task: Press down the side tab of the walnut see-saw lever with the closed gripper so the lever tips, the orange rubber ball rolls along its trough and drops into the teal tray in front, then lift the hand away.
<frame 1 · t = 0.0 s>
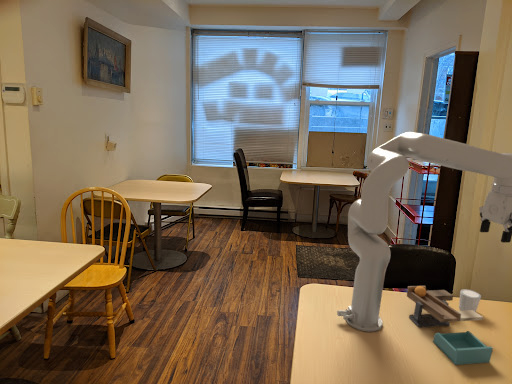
hand: (494, 236, 130), 31 cm above the table, tool pointing down, fingers open, 9 cm apart
walnut lever: (443, 302, 132), point 7 cm above the table, hinge at -6.0°, touching orange ball
teal tray: (460, 351, 117), on the table
orange ball: (420, 291, 138), point 8 cm above the table, tilted 12°, touching walnut lever
lever stand: (428, 321, 133), on the table
white cup: (467, 310, 142), on the table
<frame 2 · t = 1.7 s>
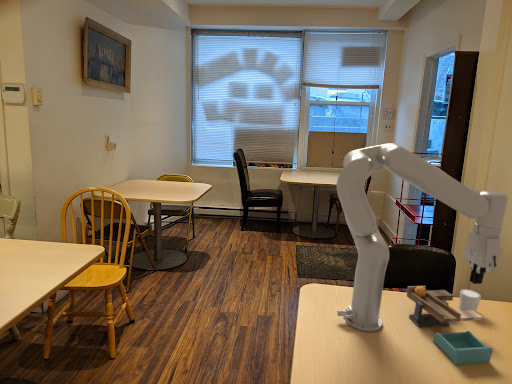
hand: (475, 282, 122), 19 cm above the table, tool pointing down, fingers closed
nothing on the table moved.
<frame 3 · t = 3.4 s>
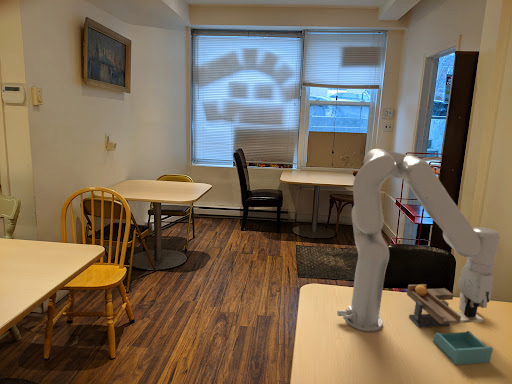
hand: (469, 315, 125), 7 cm above the table, tool pointing down, fingers closed
walnut lever: (443, 302, 131), point 7 cm above the table, hinge at -1.9°, touching gripper, orange ball
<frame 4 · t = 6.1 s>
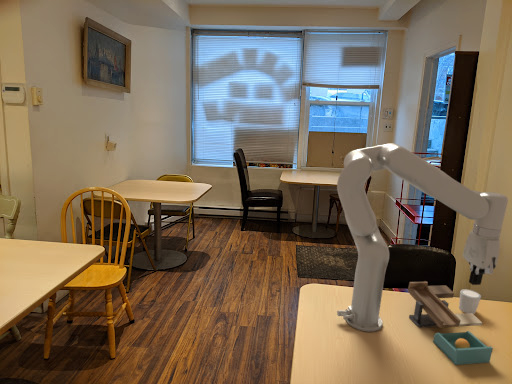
hand: (474, 283, 122), 19 cm above the table, tool pointing down, fingers closed
walnut lever: (443, 302, 131), point 7 cm above the table, hinge at 6.2°
orange ball: (462, 345, 116), point 3 cm above the table, touching teal tray
everything else where it was.
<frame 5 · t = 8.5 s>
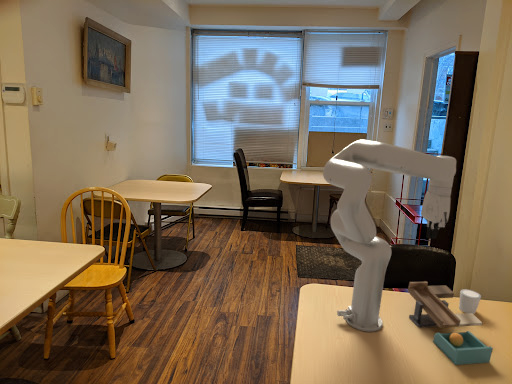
hand: (431, 238, 138), 27 cm above the table, tool pointing down, fingers closed
orange ball: (456, 339, 119), point 3 cm above the table, tilted 84°, touching teal tray
everything else where it was.
at the end: orange ball inside the target area on the teal tray (2.6 cm from its centre), point 2.6 cm above the teal tray's base; orange ball moved 21.5 cm from its start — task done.
